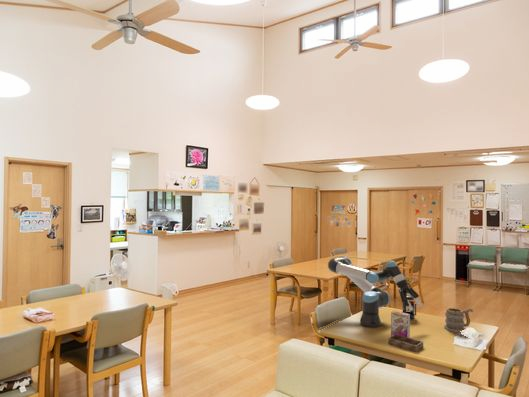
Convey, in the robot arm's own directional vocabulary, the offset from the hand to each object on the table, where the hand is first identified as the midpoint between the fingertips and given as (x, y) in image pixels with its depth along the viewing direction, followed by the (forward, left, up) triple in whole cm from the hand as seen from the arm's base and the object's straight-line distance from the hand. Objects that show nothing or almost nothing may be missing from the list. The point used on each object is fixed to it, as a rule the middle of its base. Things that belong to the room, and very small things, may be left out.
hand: (416, 308), depth 271 cm
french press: (-17, +25, -16) cm, 34 cm away
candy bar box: (-1, -23, -16) cm, 28 cm away
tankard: (+21, +24, -16) cm, 36 cm away
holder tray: (+8, -34, -15) cm, 38 cm away
